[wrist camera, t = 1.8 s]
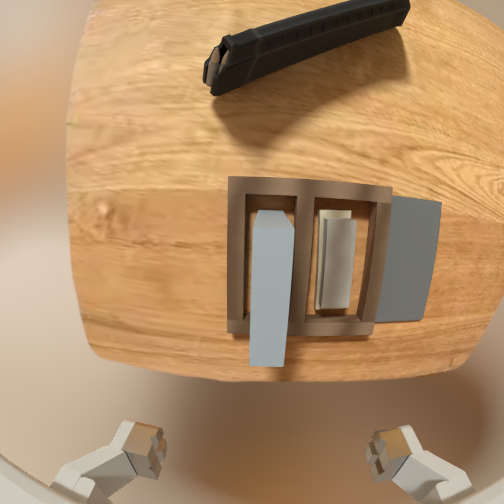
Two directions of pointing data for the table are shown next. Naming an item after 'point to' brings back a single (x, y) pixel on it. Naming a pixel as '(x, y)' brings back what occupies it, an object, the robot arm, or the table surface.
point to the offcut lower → (321, 214)
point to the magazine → (296, 40)
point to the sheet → (270, 287)
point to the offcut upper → (337, 262)
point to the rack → (307, 252)
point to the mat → (409, 259)
